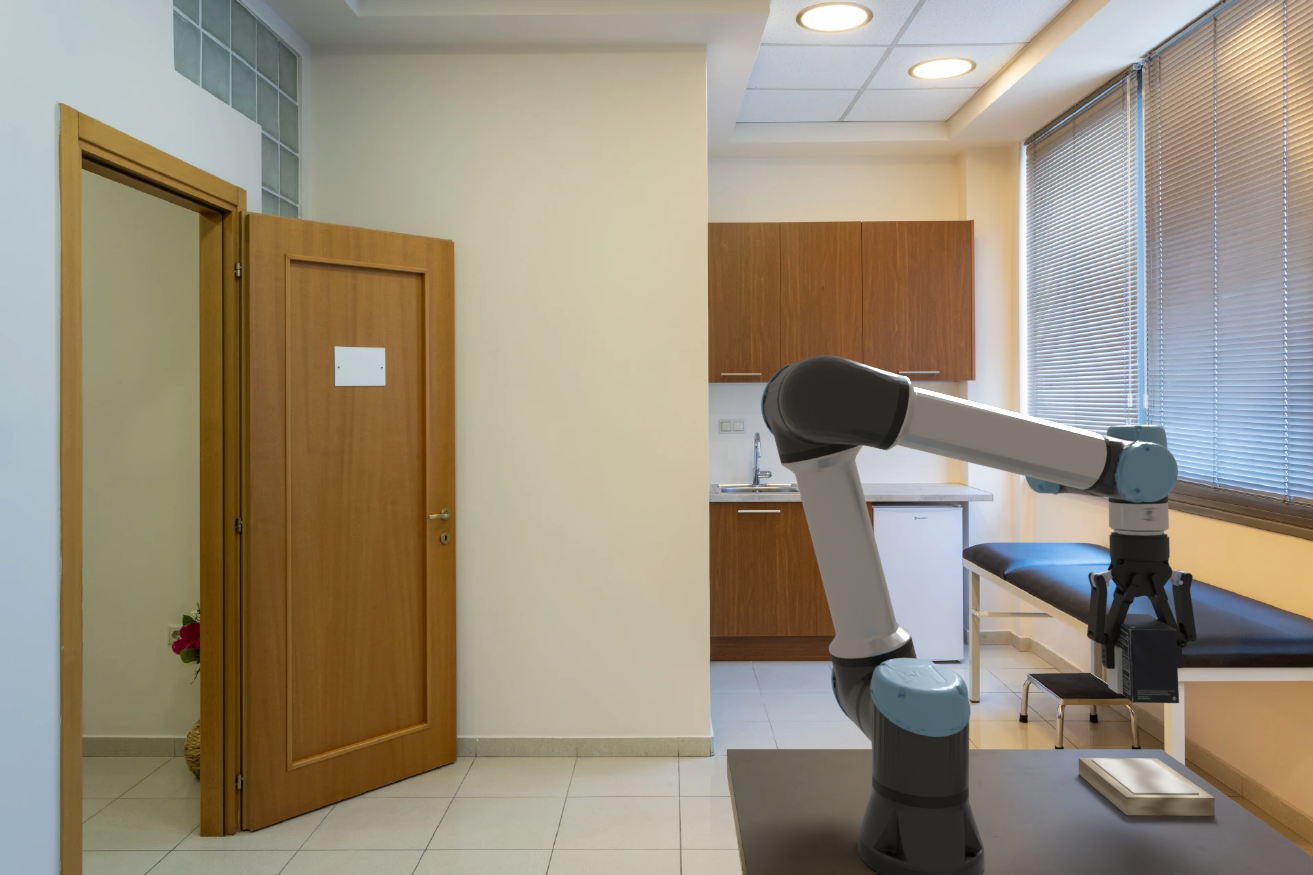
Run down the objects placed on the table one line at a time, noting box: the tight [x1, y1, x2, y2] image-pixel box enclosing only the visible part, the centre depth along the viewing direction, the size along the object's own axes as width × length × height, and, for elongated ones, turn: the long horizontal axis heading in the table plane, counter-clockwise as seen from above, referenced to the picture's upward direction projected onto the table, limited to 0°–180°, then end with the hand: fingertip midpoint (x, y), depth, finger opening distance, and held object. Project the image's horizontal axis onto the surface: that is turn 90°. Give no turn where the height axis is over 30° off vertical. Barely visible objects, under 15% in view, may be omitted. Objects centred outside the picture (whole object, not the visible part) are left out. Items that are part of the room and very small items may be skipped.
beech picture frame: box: [1078, 757, 1216, 817], centre depth 123 cm, size 12×14×3 cm
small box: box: [1105, 612, 1180, 704], centre depth 121 cm, size 11×6×10 cm, turn 168°
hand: (1142, 689), depth 121 cm, fingers closed on small box, 7 cm apart
